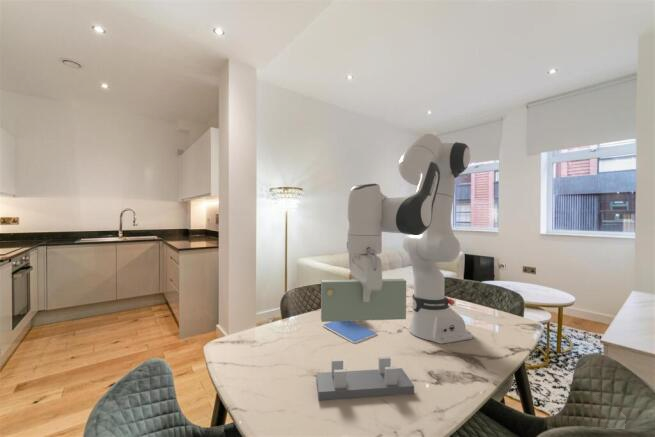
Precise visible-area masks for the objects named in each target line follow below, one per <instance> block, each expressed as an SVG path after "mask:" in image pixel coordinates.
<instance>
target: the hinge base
mask: <svg viewBox="0 0 655 437" xmlns="http://www.w3.org/2000/svg"><path fill="white" fill-rule="evenodd" d="M391 360H392V359H391V357H390V356H389V355H388V356H378V369H365V370H364V369H363V370H360V369H359V370H347V368H346V369H345V368H344V359H343V358H334V359H331V371H329V372H327V371H326V372H316V376H315V377H316V390H317V398H318V401H328V400H342V399H343V400H344V399H356V398H357V399H359V398H373V397H374V398H375V397H391V396H400V395H401V396H403V395H414V394H415V384H413V382H412V381H411V379H410V378H409V376H408V375H407V373H406V371H405V370H404V369H403V367H398V368H397V366H391V363H392V362H391Z"/></svg>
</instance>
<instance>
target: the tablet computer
mask: <svg viewBox="0 0 655 437" xmlns="http://www.w3.org/2000/svg"><path fill="white" fill-rule="evenodd" d="M322 327H323V328H325V329H327V330H328V331H331V332H333V333H334V334H336V335H337V336H339V337H341V338H343V339H344V340H346V341H347V342H349V343H351V344H354V345H355V344H356V345H357V344H359V343H361V342H364V341H367V340H369V339H372V338H375V337H377V336H378V332H375V331H373V330H372V329H369V328H367V327H364V326H362V325H360V324H358V323H356V322H354V321H333V322H325V323H324V324H322Z"/></svg>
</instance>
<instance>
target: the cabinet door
mask: <svg viewBox="0 0 655 437" xmlns="http://www.w3.org/2000/svg"><path fill="white" fill-rule="evenodd" d="M320 282H321V283H320V284H321V286H320V287H321V288H320V289H321V291H320V293H321V294H320V295H321V296H320V297H321V298H320V320H321V322H322V323H330V322H333V321H352V322H354V321H355V322H359V321H361V322H362V321H390V320H394V321H395V320H407V280H405V279H404V278H382V288H381V290H378V291H371V294H370V301H369V302H364V301H363V300H362V293H363V288H362V284H361V283H360V282H359V281H358V280H357V279H356V278H354V279H321V281H320Z"/></svg>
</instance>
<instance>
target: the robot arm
mask: <svg viewBox="0 0 655 437" xmlns="http://www.w3.org/2000/svg"><path fill="white" fill-rule="evenodd" d="M470 161H471V150H470V147H469V146H468V145H467V144H466V143H463V142H459V141H457V142H442V140H441V139H440V138H439V136H437V135H436V134H434V133H424V134H421V135H420V136H418V137H417V138H416V139H415V140H413V141H412V142H411V143H410V144H409V146H408V147H407V148H406V149H405V151H404V152H403V154H402V155H401V157H400V159H399V161H398V166H397V167H398V172H399V174H400V176H401V178H402V179H403V180H405V182H406V183H409V184H411V185H414V186H417V187H416V191H415V193H414V194H411V195H408V196H404V197H403V196H402V197H401V196H400V197H388V196H387V195H385V194H383V192H381V185H380V184H378V183H367V184H359V185H355V186H353V187H352V188H351V189H350V192H349V194H348V202H347V220H348V230H347V240H346V250H347V253H348V263H349V271H350V274H351V275H352V277H354V279H357V280H358V281H359V282H360V283H361V284H362V288H363V293H362V300H363V301H364V302H369V301H370V294H371V291H378V290H381V288H382V279H383V266H382V260H381V257H379V256H378V255H379V254H382V252H383V249H382V246H383V245H382V242H383V233H390V234H404V235H405V236H404V238H403V242H402V245H403V248H404V250H405V252H406V253H407V255H408V258H409V261H410V265H411V268H412V269H411V270H412V273H413V274H412V275H413V293H412V301H411V302H412V304H411V305H412V317H411V320H410V321H411V322H410V325H409V328H408V330H409V332H410V334H412V335H413V336H415V337H417V338H419V339H422V340H427V341H431V342H434V343H436V344H449V343H454V342H460V341H467V340H472V339H473V338H474V337H473V333H472V332H471V331H470V330H469V329H468V328H466V323H465V320H464V319H463V317H462V316H461V315H460V314H459V313H457V312H456V311H455V310H453V308H451V307H450V306H454V305H455V302H456V301H454V299H451V298H448V297H447V296H445V280H446V279H445V275H444V274H443V272H442V271H441V270H440V269H439V266H438V263H451V262H454V261H455V260H456V259H457V258H458V257H459V256H460V253H461V243H460V241H459V239H458V238H457V236H455V233H454V231H453V227H452V212H453V211H452V210H453V203H454V200H455V191H456V190H455V189H456V178H458V177H459V176H460V174H463V173H464V172H465V171H466V170H467V169H468V167H469V164H470Z"/></svg>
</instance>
